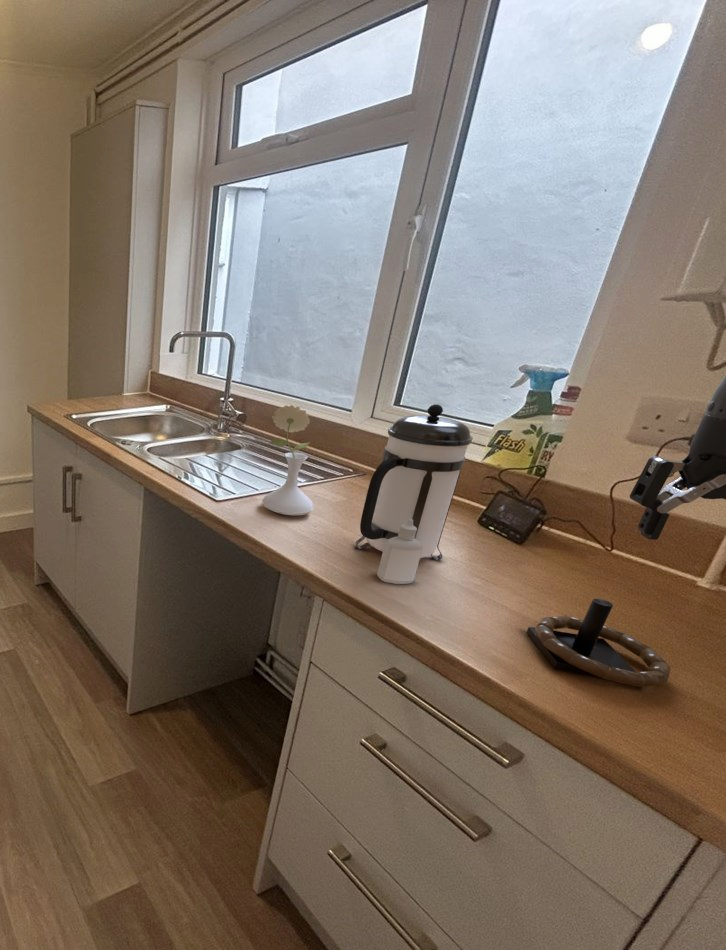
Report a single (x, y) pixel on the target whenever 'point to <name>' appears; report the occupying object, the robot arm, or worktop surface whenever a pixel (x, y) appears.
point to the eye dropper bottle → (401, 556)
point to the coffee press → (415, 480)
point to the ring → (653, 677)
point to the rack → (585, 641)
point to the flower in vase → (290, 465)
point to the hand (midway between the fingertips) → (692, 542)
